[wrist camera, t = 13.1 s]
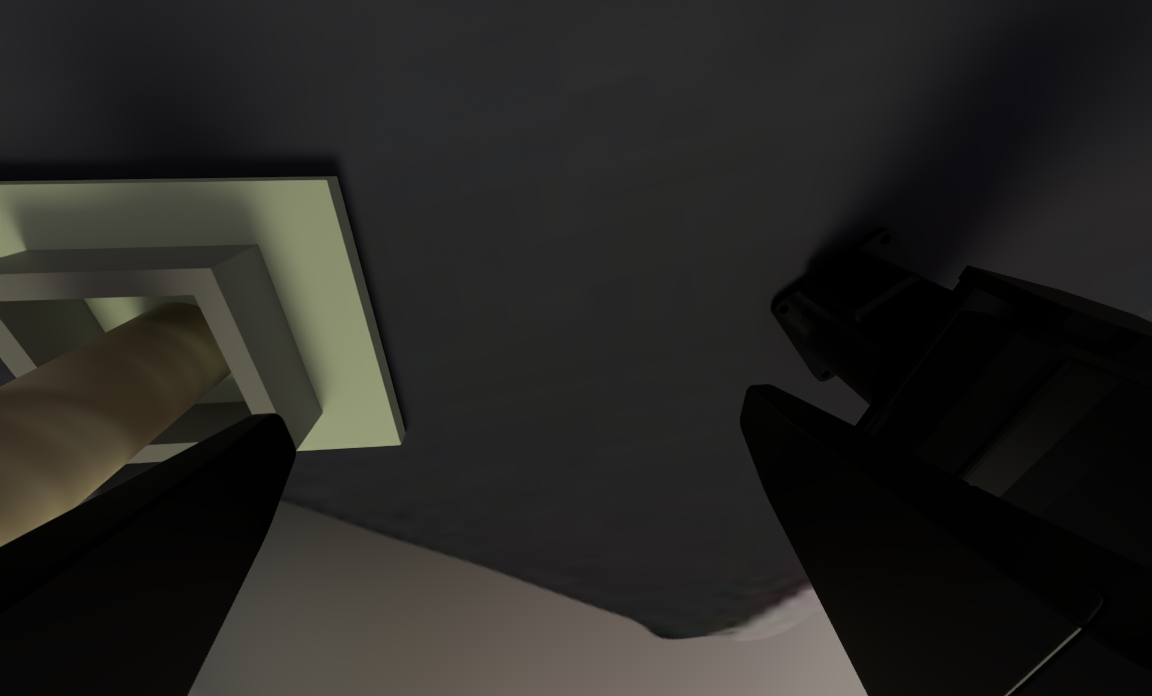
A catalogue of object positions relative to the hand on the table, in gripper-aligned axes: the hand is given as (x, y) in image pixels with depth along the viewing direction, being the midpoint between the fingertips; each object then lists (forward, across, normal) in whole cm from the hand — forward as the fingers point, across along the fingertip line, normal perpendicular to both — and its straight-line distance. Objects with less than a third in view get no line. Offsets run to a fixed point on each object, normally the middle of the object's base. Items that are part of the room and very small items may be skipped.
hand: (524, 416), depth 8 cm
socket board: (+13, +16, +4) cm, 21 cm away
